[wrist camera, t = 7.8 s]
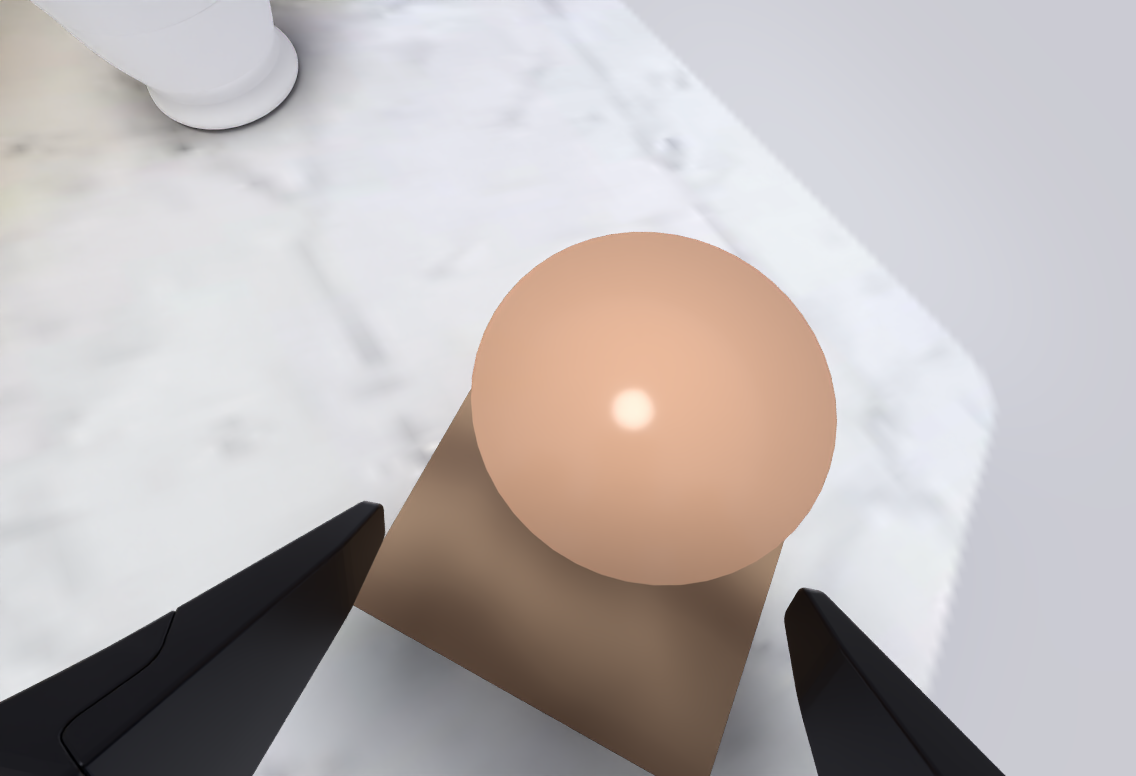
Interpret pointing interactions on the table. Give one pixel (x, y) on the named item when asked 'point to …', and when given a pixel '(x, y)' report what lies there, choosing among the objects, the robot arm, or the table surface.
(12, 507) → the table surface
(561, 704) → the shelf board
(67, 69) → the table surface
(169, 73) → the jar
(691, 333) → the tan round cylinder
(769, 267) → the table surface
